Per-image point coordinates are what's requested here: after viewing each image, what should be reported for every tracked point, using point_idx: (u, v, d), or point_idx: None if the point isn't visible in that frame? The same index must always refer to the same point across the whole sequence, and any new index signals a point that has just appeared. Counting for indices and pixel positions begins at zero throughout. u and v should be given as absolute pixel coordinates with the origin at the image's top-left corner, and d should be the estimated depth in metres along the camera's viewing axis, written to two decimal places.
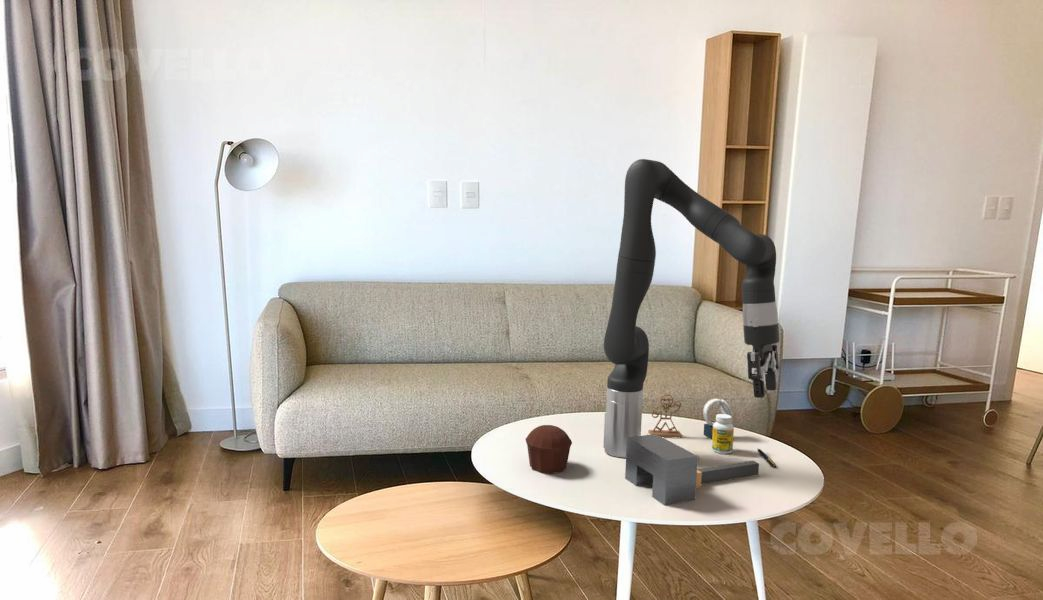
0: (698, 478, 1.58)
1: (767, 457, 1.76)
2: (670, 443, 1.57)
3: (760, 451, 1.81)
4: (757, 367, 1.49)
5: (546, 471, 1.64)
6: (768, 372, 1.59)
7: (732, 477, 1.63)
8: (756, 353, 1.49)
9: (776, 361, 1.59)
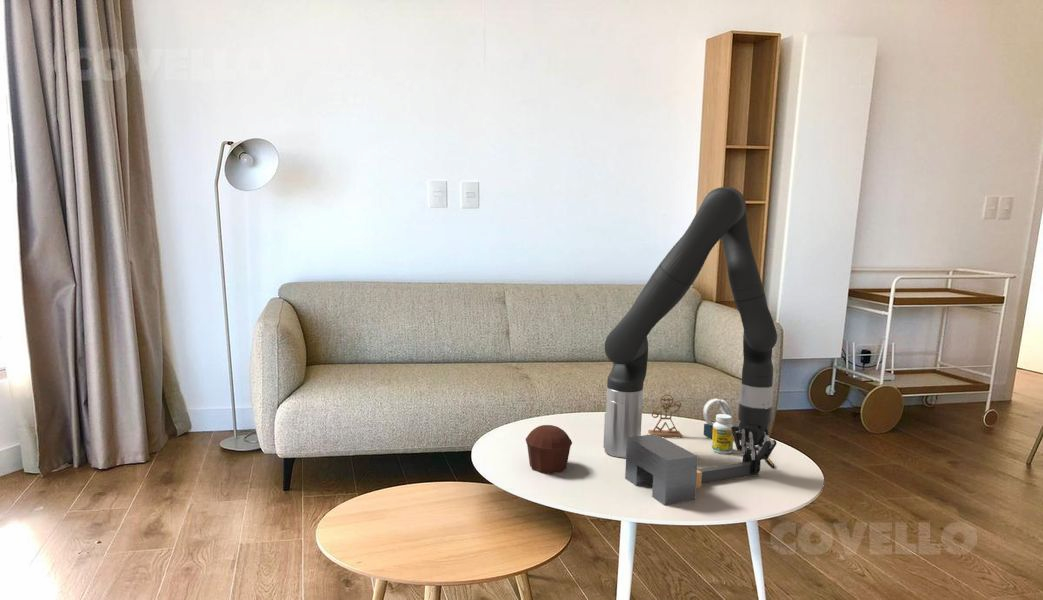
0: (698, 478, 1.58)
1: None
2: (670, 443, 1.57)
3: None
4: (770, 452, 1.62)
5: (546, 471, 1.64)
6: (747, 454, 1.67)
7: (732, 477, 1.63)
8: (775, 443, 1.60)
9: None
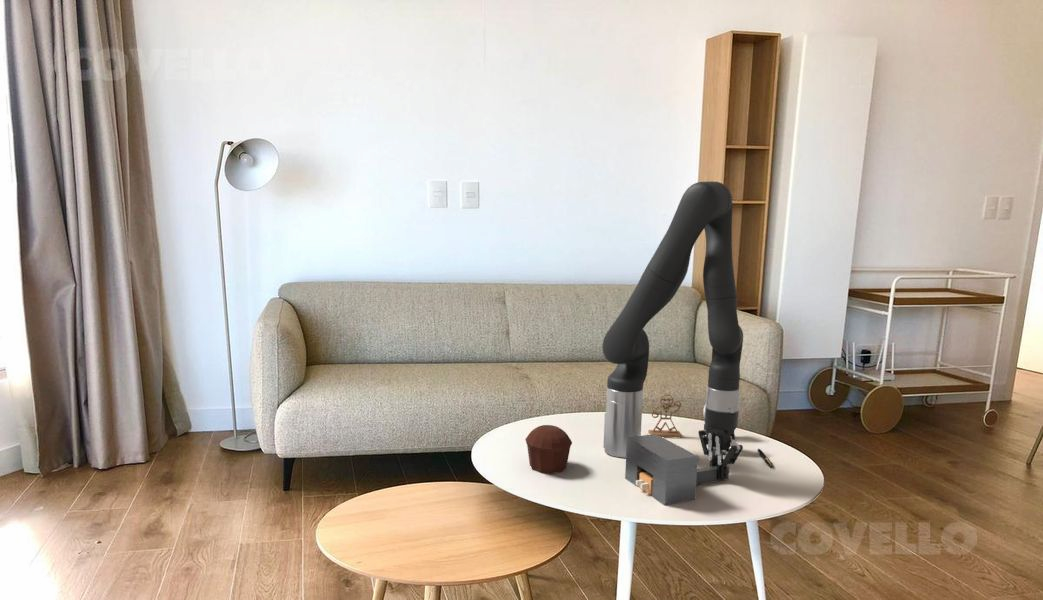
0: None
1: (765, 457, 1.76)
2: (670, 443, 1.57)
3: (760, 451, 1.81)
4: (736, 457, 1.58)
5: (546, 471, 1.64)
6: (714, 459, 1.63)
7: (701, 481, 1.60)
8: (741, 448, 1.56)
9: None
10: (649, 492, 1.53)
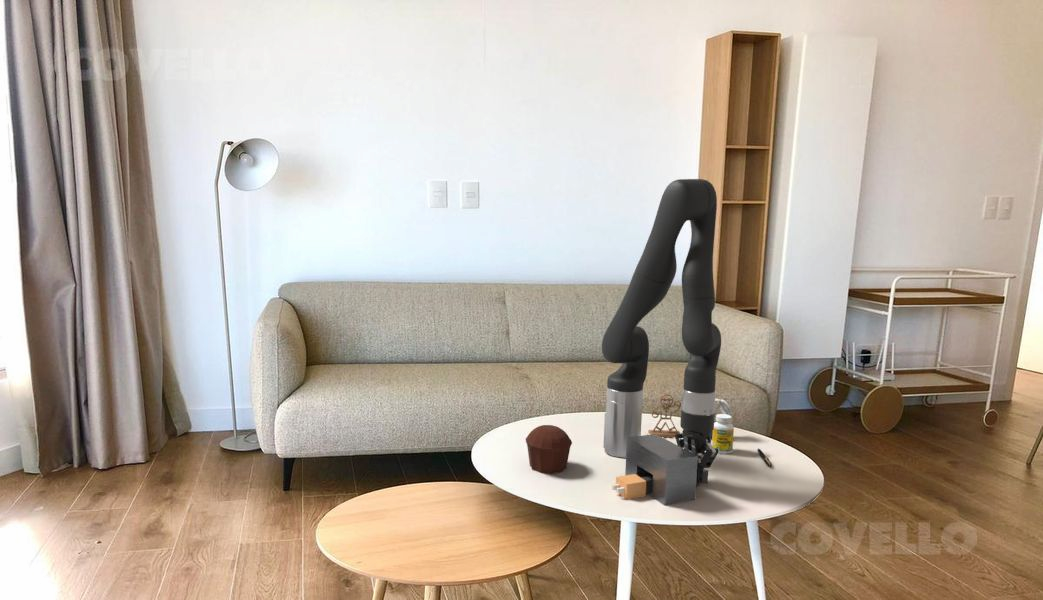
0: (642, 487, 1.52)
1: (765, 457, 1.76)
2: (670, 443, 1.57)
3: (759, 451, 1.81)
4: (712, 461, 1.55)
5: (546, 471, 1.64)
6: None
7: None
8: (717, 452, 1.54)
9: None
10: (625, 497, 1.51)
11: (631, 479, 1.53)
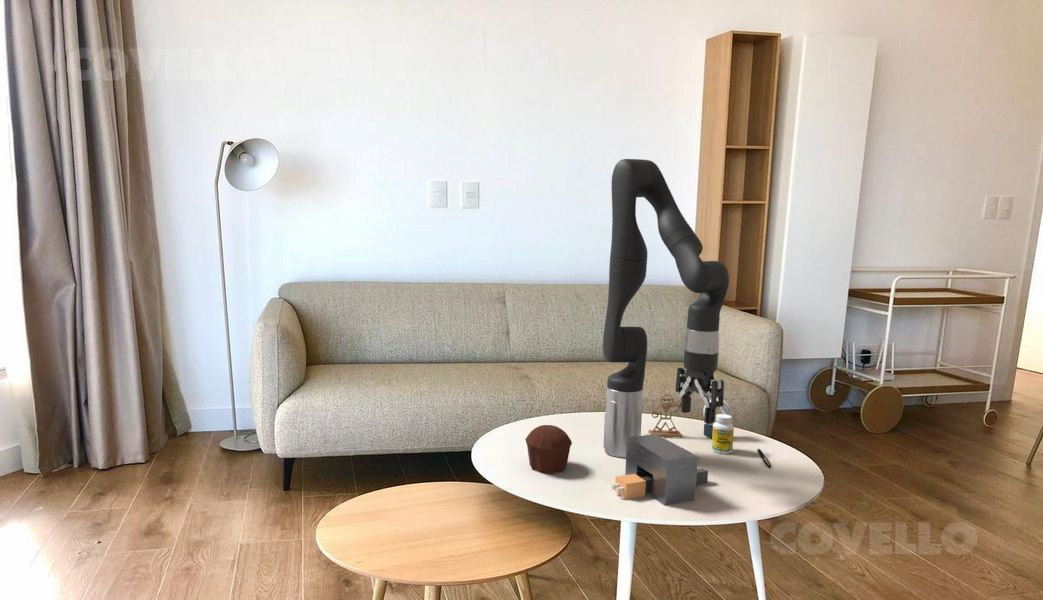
0: (642, 487, 1.52)
1: (764, 457, 1.76)
2: (670, 443, 1.57)
3: (759, 451, 1.81)
4: (722, 395, 1.51)
5: (546, 471, 1.64)
6: (685, 395, 1.61)
7: None
8: (722, 382, 1.51)
9: None
10: (624, 496, 1.51)
11: (630, 478, 1.53)
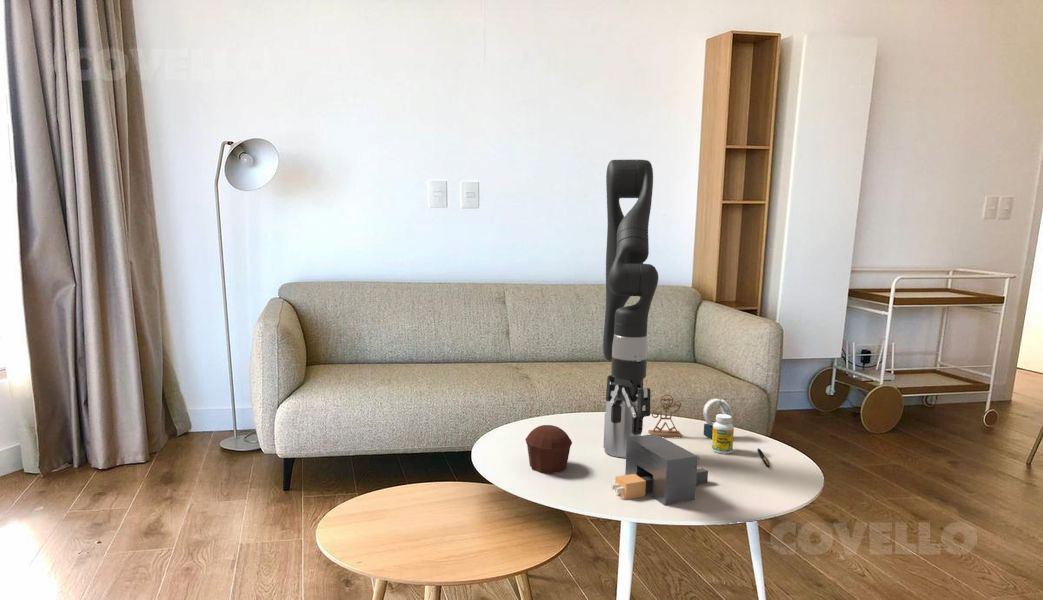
0: (642, 487, 1.52)
1: (763, 457, 1.76)
2: (670, 443, 1.57)
3: (759, 451, 1.81)
4: (649, 404, 1.44)
5: (546, 471, 1.64)
6: (615, 404, 1.54)
7: None
8: (649, 390, 1.44)
9: None
10: (624, 496, 1.51)
11: (630, 478, 1.53)
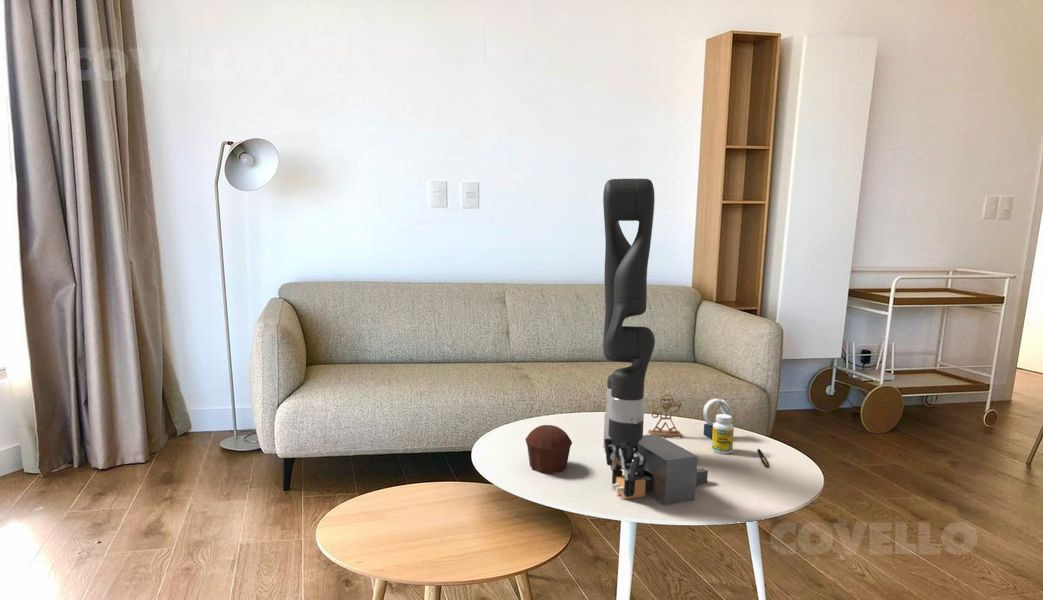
0: (642, 487, 1.52)
1: (763, 457, 1.77)
2: (670, 443, 1.57)
3: (759, 451, 1.81)
4: (642, 470, 1.47)
5: (546, 471, 1.64)
6: (616, 469, 1.54)
7: None
8: (645, 458, 1.46)
9: None
10: (624, 496, 1.51)
11: None
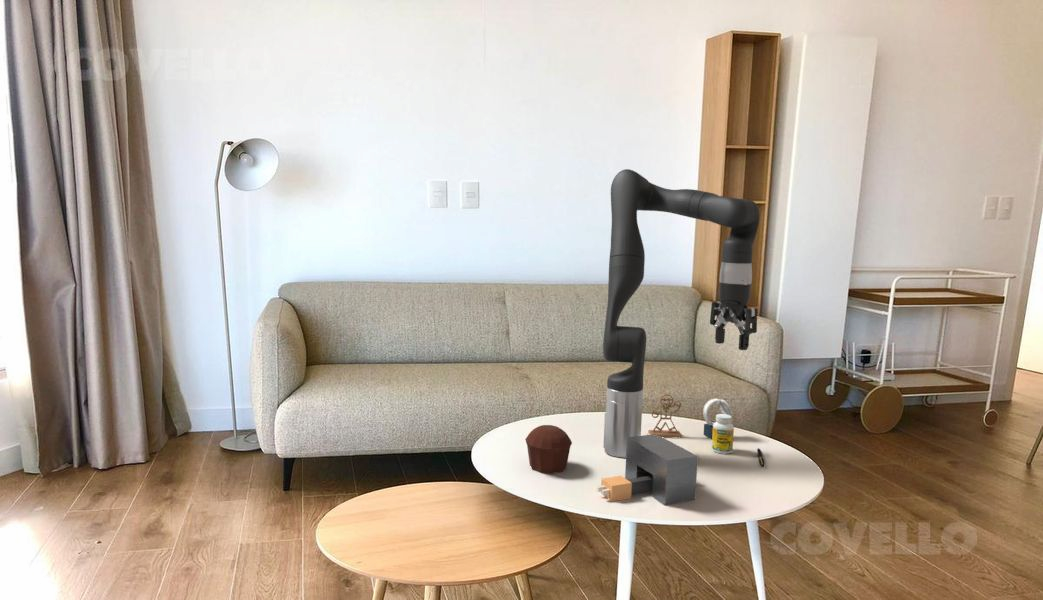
0: (628, 489, 1.50)
1: (760, 456, 1.77)
2: (670, 443, 1.57)
3: (758, 451, 1.82)
4: (756, 322, 1.63)
5: (546, 471, 1.64)
6: (720, 327, 1.73)
7: None
8: (756, 309, 1.63)
9: None
10: (610, 498, 1.49)
11: (616, 480, 1.52)
